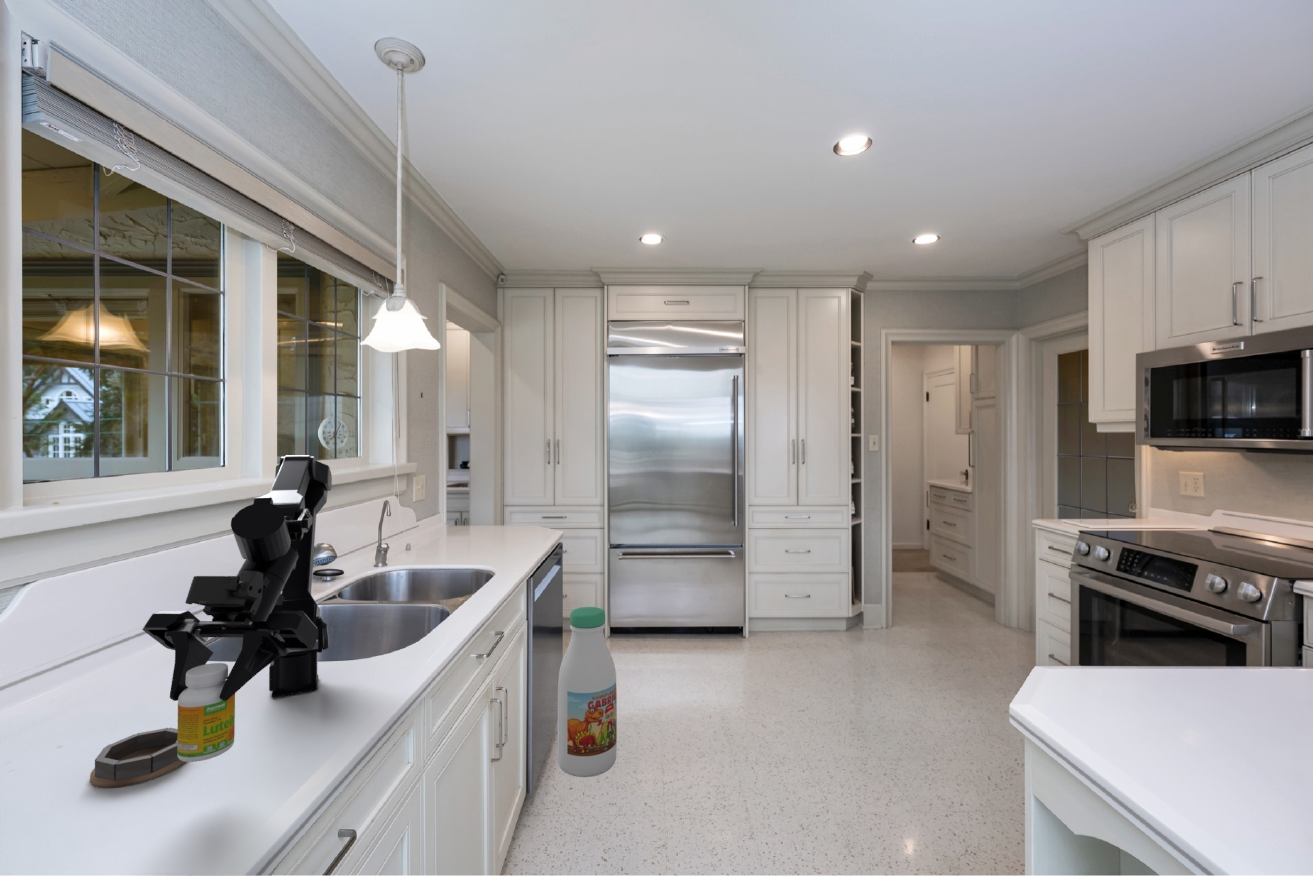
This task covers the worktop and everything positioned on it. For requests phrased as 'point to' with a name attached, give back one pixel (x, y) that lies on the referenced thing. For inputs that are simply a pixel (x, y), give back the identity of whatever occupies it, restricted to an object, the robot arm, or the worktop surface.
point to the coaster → (137, 759)
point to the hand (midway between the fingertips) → (197, 699)
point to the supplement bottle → (205, 714)
